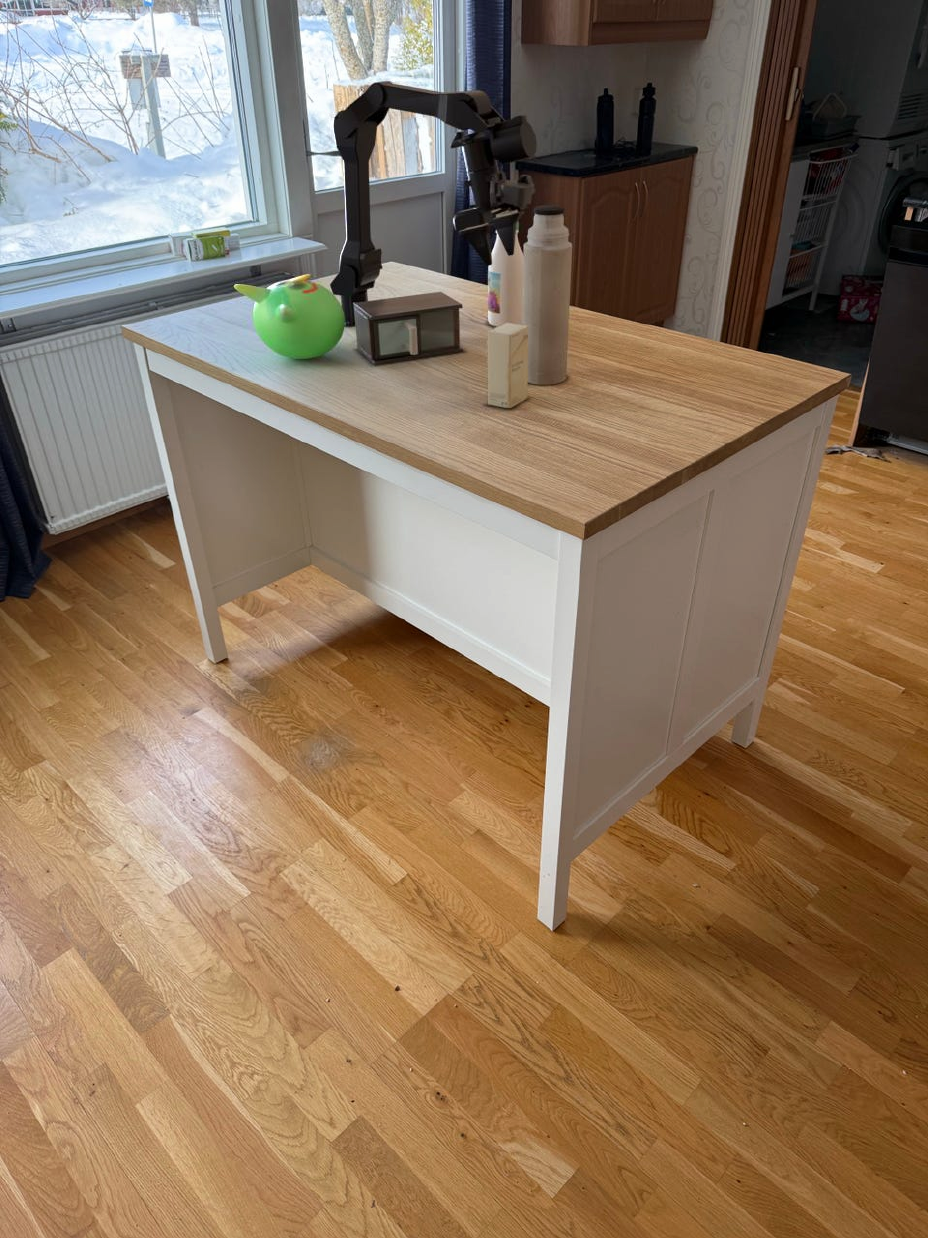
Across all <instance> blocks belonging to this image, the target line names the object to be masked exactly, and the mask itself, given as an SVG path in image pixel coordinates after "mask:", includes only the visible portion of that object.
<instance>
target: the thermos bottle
mask: <svg viewBox="0 0 928 1238" xmlns="http://www.w3.org/2000/svg"><path fill="white" fill-rule="evenodd" d="M564 213H565V207H563V206H561V205H549V204H547V205H538V206H535V207H534V208H533V214H534V216H533V224H532V226H531V227H530V228H528V230H527V236H526V238H527V241H526V242H524V243H523V256H524V265H523V315H522V324H521V325H527V326H528V383H529V384H533V385H537V386H538V385H540V386H549V385H550V386H551V385H555V384H560V383H562V382H564V381H565V380H566V379H567V372H568V349H569V348H568V347H569V345H568V344H569V329H570V328H569V326H570V325H569V324H570V307H571V306H570V302H571V285H572V284H571V282H572V261H573V260H572V259H573V243H571V242H570V241H569V236H570V232H569V228H568V227H567V226H565V225H564V222H565V221H564V220H565V218H564ZM528 383H527V384H528Z"/></svg>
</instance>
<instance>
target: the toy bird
mask: <svg viewBox="0 0 928 1238" xmlns="http://www.w3.org/2000/svg"><path fill="white" fill-rule="evenodd" d="M311 276H312V275H311V273H306V274H303V275H298V276H295V277H293V278H291V279H290V278H289V279H286V280H281V281H278V282H275V283H273V284H272V285H269V286H268V287H267V288H265V287H260V286H254V285H249V284H242V283H237V284H234V285H233V288H234V289H235V290H236V291H237V292H238V293H240V294H242V295H243V296H245V297H247V298H249V299H251V300H252V301H254V302H255V303H254V306H253V310H252V321H253V326H254V329H255V331H256V333H257V335H258V337H259V339H260V340H261V341H262V342H263V344H264V345H265V346H266V347H267V348H269V349H270V350H271V351H273V352H275V353H276V354H278V355H280V356H282V357H285V358H289V359H294V360H308V359H315V358H318V357H320V356H323V355H326V354H327V353H329V352H330V351H332V350H333V349H334V348H335V347H336V346H337V345H338V343H339V342H340V341H341V339H342V337H343V334H344V332H345V327H346V326H345V317H344V312H343V309H342V307H341V302H340V301H339V300H338V298H337V297H336V295H334V294H333V292H332V291H330V289H328V288H327V287H326V286H323V285H322V284H320V283H317V282H316V281H312V280H310V279H309V278H310V277H311ZM308 279H309V280H308Z"/></svg>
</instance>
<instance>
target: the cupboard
mask: <svg viewBox="0 0 928 1238" xmlns="http://www.w3.org/2000/svg"><path fill="white" fill-rule="evenodd" d="M353 304H354V315H355V325H354V326H355V337H356V349H357V351H358V352H359V353H360V354H361V355H362V356H364V358H366V359H367V360H368V361H369V362H370V363H371V364H372V365H373V366H382V365H388V364H394V363H395V364H396V363H400V362H401V363H402V362H407V361H408V362H409V361H414V360H421V359H426V358H432V357H433V358H434V357H440V356H447V355H453V354H460V353H464V348H463V347H461V341H460V340H461V337H460V336H461V334H460V332H461V331H460V328H461V327H460V309H463V303H461V302H459V301H457V300H456V299H454V298H453V297H451V296H449V295H448V294H446V293H445V292H443V291H437V292H436V291H435V292H427V293H419V294H413V295H411V294H410V295H405V296H397V297H389V298H380V299H374V300H373V299H372V300H368V301H365V302H357V303H353ZM415 314H419V315H420V329H421V351H422V352H421V353H418V354H416V355H411V354H408V355H401V356H394V357H388V358H381V359H376V357H375V344H374V330H373V320H378V319H386V318H393V317H400V316H408V315H415Z"/></svg>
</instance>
